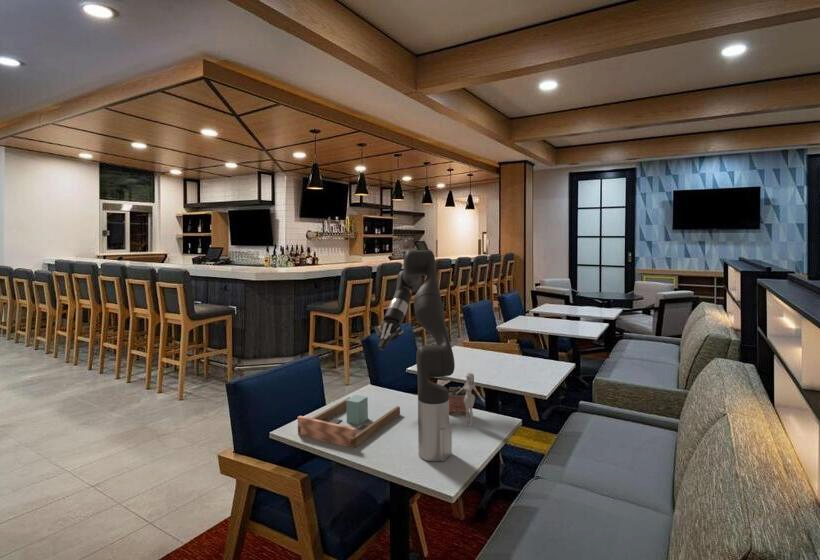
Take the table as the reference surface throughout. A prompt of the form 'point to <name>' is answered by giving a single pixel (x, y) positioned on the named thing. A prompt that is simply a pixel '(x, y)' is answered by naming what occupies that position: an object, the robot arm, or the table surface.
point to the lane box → (340, 427)
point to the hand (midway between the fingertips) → (380, 348)
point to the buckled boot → (457, 402)
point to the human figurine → (469, 396)
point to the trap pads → (334, 420)
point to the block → (357, 409)
